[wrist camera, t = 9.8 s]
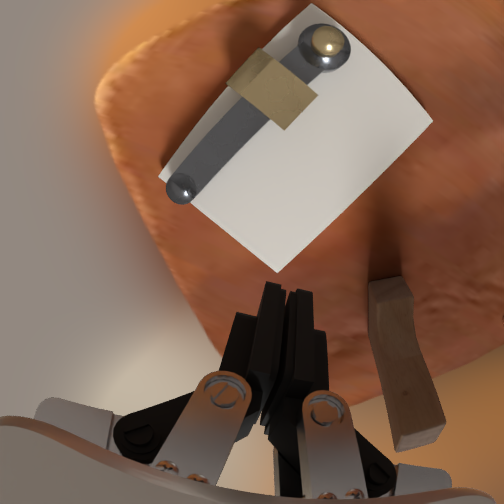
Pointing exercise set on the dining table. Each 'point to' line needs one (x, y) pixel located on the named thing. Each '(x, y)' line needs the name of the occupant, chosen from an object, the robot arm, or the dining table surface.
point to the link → (245, 122)
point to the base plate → (307, 151)
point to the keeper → (282, 80)
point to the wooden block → (402, 366)
